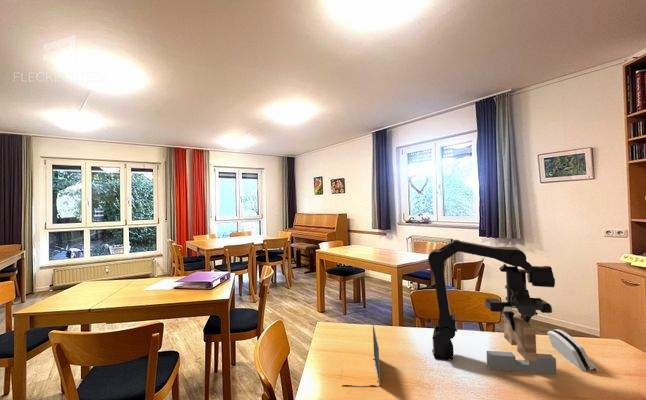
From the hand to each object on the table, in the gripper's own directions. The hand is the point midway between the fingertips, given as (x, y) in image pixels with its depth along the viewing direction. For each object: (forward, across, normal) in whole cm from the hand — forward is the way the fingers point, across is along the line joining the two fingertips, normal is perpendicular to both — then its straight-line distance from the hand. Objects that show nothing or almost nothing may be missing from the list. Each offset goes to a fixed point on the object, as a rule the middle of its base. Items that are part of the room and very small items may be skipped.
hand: (518, 330), depth 101 cm
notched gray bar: (+13, 0, 0) cm, 13 cm away
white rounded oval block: (+13, +20, +9) cm, 26 cm away
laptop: (+14, -54, -7) cm, 56 cm away
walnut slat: (+6, 0, 0) cm, 6 cm away
